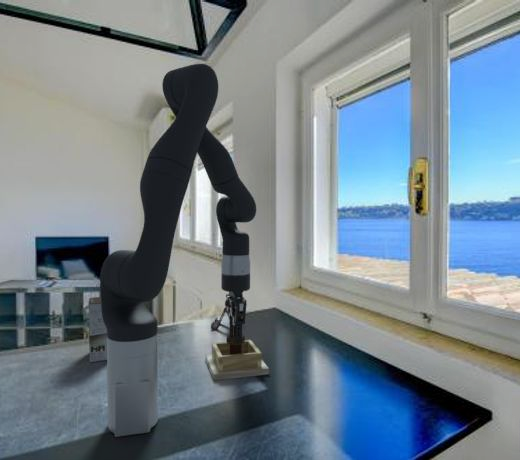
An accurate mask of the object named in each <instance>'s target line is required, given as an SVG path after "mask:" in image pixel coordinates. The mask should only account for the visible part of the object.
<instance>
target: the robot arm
mask: <svg viewBox="0 0 520 460" xmlns="http://www.w3.org/2000/svg"><path fill="white" fill-rule="evenodd" d="M162 79H163V80H162V84H161V85H162V86H161V87H162V93H163V95H164V98H165V100H166V104H167V105H168V107H169V108H170V110H171V112H172V114H173V115H174V117H175V119H174V120H173V122H172V123H171V124H170V126H169V127H168V128H167V129H166V130H165V131H164V133H163V134H162V135H161V137H159V138H158V140H157V141H156V142H155V144H154V145H153V147H152V148H151V150H150V151H149V153H148V156H147V158H146V162H145V165H144V168H143V171H142V174H141V177H140V183H139V194H140V199H141V202H142V203H141V204H142V209H143V210H142V211H143V216H144V217H143V218H144V220H143V227H142V232H141V236H140V237H139V242H138V244H137V248H136V250H131V249H120V250H115V251H113V252H112V253H110V254H108V255H107V257H105V260H104V262H103V264H102V266H101V270H100V276H99V277H100V278H99V286H100V287H99V288H100V289H99V290H100V292H99V293H100V297H101V308H102V318H103V322H104V324H105V326H106V329H107V360H106V365H107V366H106V367H107V368H106V372H107V373H106V374H107V376H106V377H107V379H106V380H107V381H106V383H107V428H108V431H109V432H111V433H113V434H114V438H118V437H124V436H131V435H138V434H146V433H150V432H151V429H152V428H153V427H154V426H156V424H157V423H158V422H159V376H158V375H159V373H158V371H159V367H158V366H159V365H158V364H159V363H158V362H159V361H158V360H159V359H158V357H159V354H158V353H159V351H158V347H159V345H158V344H159V340H158V335H159V333H158V332H159V331H158V328H159V326H158V320H157V317H156V316H155V315H154V314H152V312H150V311H149V309H148V308H147V306H146V305H145V303H147V302H151V301H153V300H154V299H155V298H156V297H157V296H159V294H160V293H161V291H162V290H163V288H164V285H165V283H166V280H167V277H168V272H169V268H170V267H169V266H170V262H171V261H170V260H171V257H172V249H173V243H174V238H175V234H176V229H177V225H178V221H179V217H180V215H181V214H180V213H181V211H182V207H183V206H182V205H183V202H184V199H185V196H186V192H187V190H188V186H189V183H190V180H191V176H192V172H193V168H194V164H195V161H196V157H197V155H198V157H199V159H200V161H201V163H202V165H203V168H204V170H205V173H206V174H207V178H208V179H209V183H210V184H211V187H212V189H213V190H214V191H215V192H216V193H218V194H221V195H224V196H221V197H220V198H219V200H218V201H217V203H216V208H215V213H216V214H215V215H216V219H217V222H218V226H219V230H220V234H221V238H222V258H221V267H220V268H221V271H220V272H221V276H220V277H221V283H220V284H221V285H220V286H221V290H222V291H224V292H228V293H226V295H225V297H226V299H228V300H229V301H230V305H231V302H232V301H233V302H234V308H232V305H231V307H230V312H231V316H232V317H233V338H234V340H240V339H242V334H243V325H245V323H246V314H247V306H248V305H246V303H245V300H246V299H245V297H244V295H243V293H244V292H247V291H250V288H251V260H250V259H251V258H250V236H249V235H250V234H248V233H247V232H245V231H241V230H240V229H239V228H238V226H237V223H249V222H251V221H253V220H254V219H255V217H256V214H257V203H256V200H255V198H254V196H253V195H252V193H251V192H250V191H249V190H248V188H247V186H245V184H244V183H243V180H241V178H240V177H239V175H238V170H237V169H236V167H235V163H234V160H233V158H232V156H231V155H230V152H229V151H228V150H227V148H226V147H225V145H224V144H223V143H222V142H221V141H219V139H218V138H217V137H216V136H215V135H214V134H213V133H212V132H211V130H209V128H208V127H207V125H208V122H209V120H210V117H211V115H212V113H213V111H214V108H215V107H216V106H215V105H216V103H217V99H218V95H219V82H218V81H219V80H218V77H217V74H216V71H215V70H214V69H213V68H212V67H211V66H210V65H208V64H206V63H193V64H189V65H186V66H182V67H178V68H175V69H172V70H169V71H167V72H166V74H165V75H164V76H163V78H162ZM226 299H225V300H226ZM243 301H244V303H243ZM144 302H145V303H144ZM234 311H235V313H234ZM230 312H229V307H227V313H226V315H227V317H228V322H229V327H228V329H229V330H228V333H230ZM238 317H240V320H238Z"/></svg>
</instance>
